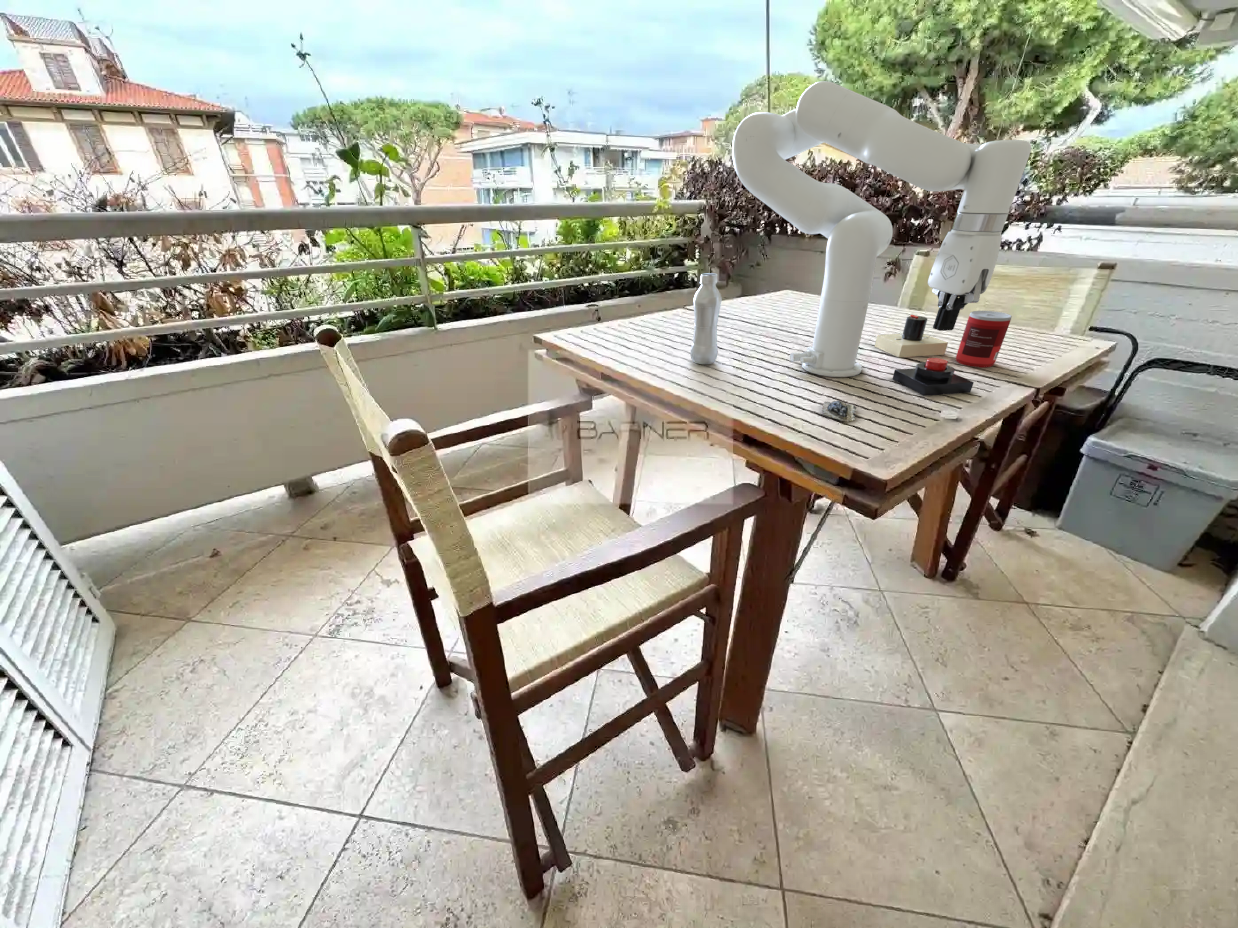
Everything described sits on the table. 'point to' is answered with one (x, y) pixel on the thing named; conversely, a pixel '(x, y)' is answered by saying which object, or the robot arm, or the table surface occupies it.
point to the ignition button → (936, 364)
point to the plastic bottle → (706, 320)
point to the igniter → (932, 380)
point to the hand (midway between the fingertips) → (942, 329)
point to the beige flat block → (910, 345)
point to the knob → (914, 328)
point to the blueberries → (839, 410)
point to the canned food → (982, 338)
